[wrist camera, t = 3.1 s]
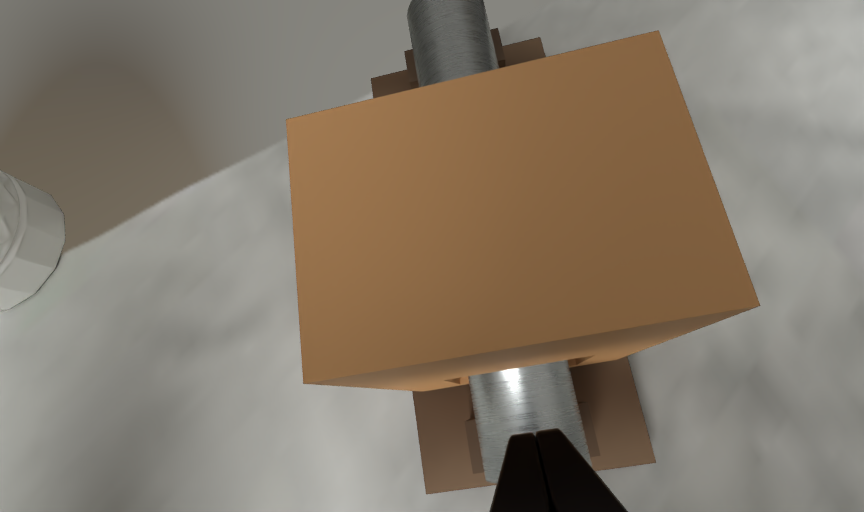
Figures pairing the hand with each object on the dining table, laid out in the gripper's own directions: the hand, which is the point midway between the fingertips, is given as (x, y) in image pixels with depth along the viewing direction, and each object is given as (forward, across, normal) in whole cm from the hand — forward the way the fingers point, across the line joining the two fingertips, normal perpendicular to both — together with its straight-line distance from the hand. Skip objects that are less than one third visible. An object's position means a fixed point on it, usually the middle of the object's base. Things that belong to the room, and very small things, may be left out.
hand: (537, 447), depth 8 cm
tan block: (+9, 0, +4) cm, 10 cm away
